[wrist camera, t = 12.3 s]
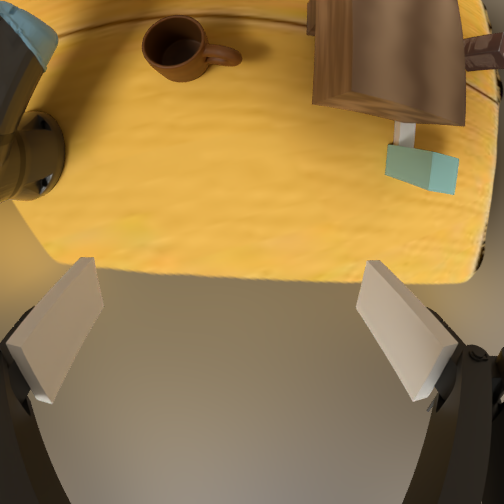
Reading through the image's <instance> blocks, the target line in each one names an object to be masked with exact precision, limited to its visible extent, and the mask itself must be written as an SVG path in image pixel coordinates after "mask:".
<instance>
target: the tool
mask: <svg viewBox="0 0 504 504" xmlns="http://www.w3.org/2000/svg"><path fill="white" fill-rule="evenodd" d="M415 126H416V123H402V122H398V121H395V127H394V141H393V145H388V150H387V160H386V170H385V175H387V176H390V177H393V178H396V179H399V180H402V181H404V182H407V183H410V184H413V185H415V186H418V187H421V188H423V189H426V190H428V191H434V192H440V193H446V194H452V195H454V193H455V187H456V180H457V173H458V165H459V159H458V158H454V157H451V156H447V155H444V154H440V153H436V152H432V151H427V150H421V149H415V148H414V140H415Z"/></svg>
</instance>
